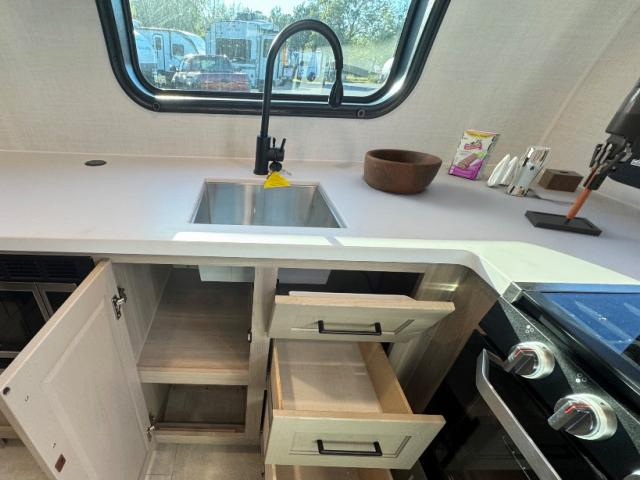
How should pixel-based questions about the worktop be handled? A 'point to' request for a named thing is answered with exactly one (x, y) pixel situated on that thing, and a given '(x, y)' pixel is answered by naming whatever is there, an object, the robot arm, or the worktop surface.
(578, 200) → the stylus
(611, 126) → the robot arm
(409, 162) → the wooden bowl
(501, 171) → the shaker set
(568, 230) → the tablet
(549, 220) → the screen
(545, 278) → the worktop surface
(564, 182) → the stand
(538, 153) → the beer glass
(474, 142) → the candy bar box
